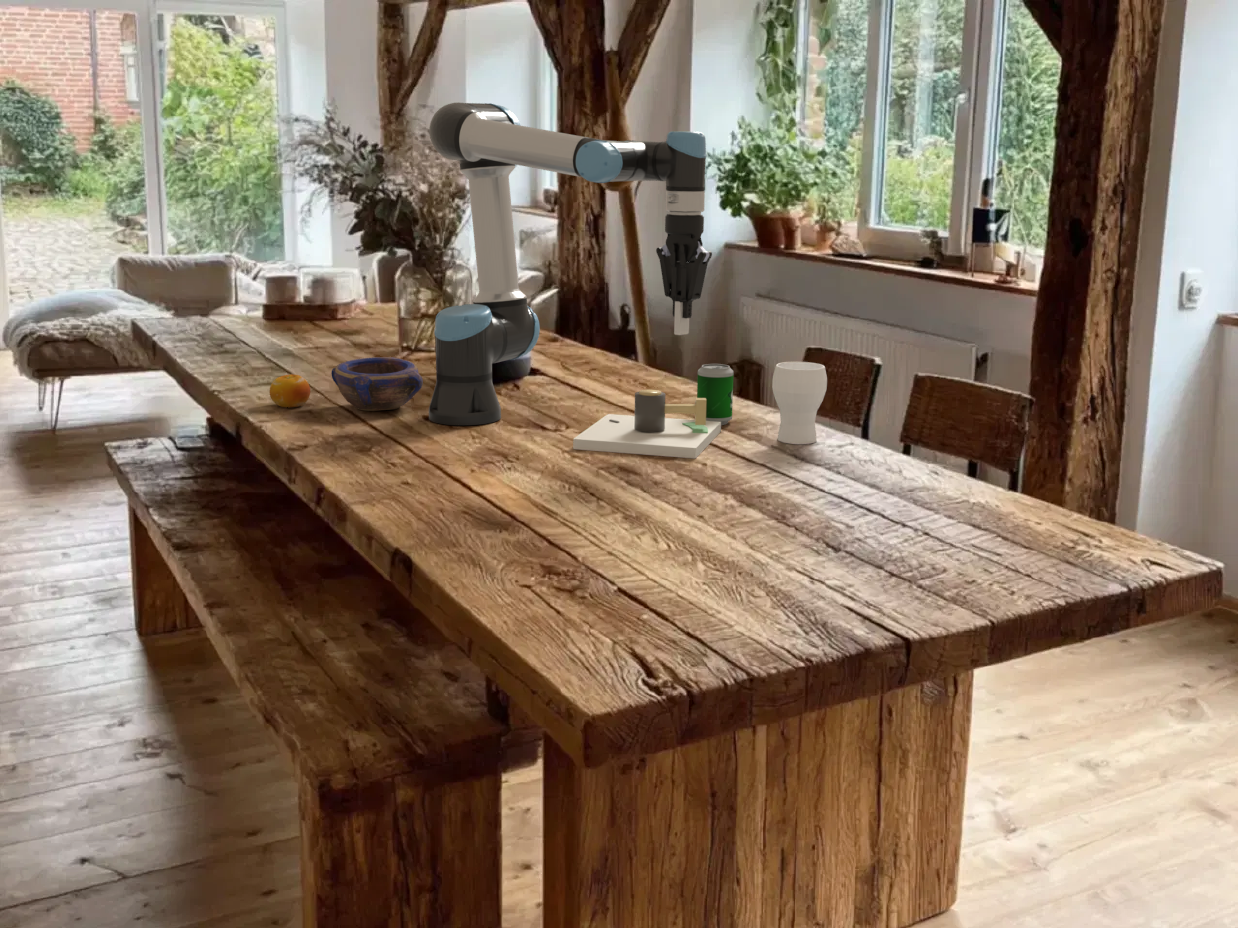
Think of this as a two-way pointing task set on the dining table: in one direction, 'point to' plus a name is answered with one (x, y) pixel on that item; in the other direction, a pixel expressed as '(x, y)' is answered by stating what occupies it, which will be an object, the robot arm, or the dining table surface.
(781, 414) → the cup
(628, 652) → the dining table surface
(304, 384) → the fruit
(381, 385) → the bowl
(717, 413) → the soda can
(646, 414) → the grey cylinder with handle
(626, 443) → the dial plate
